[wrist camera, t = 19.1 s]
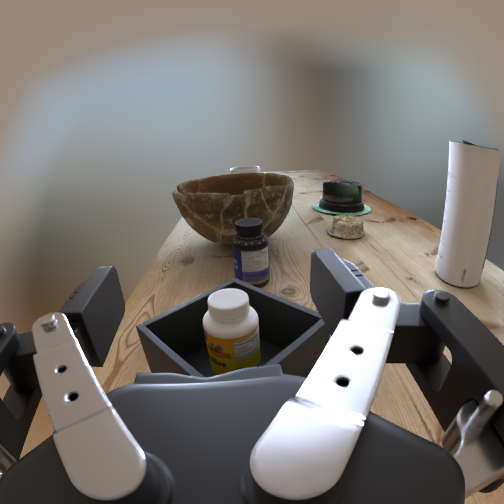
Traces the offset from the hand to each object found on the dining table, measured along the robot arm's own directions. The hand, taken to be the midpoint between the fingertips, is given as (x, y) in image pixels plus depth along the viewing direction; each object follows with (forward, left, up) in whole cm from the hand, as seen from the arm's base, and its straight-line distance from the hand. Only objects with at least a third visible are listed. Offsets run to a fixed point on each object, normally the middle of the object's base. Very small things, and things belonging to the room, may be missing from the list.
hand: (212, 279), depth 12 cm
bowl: (+39, +43, -20) cm, 61 cm away
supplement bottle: (+9, +11, -20) cm, 24 cm away
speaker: (+52, -6, -20) cm, 57 cm away
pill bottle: (+27, +26, -20) cm, 43 cm away
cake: (+60, +25, -20) cm, 68 cm away
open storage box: (+9, +11, -20) cm, 25 cm away
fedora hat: (+82, +38, -20) cm, 93 cm away
